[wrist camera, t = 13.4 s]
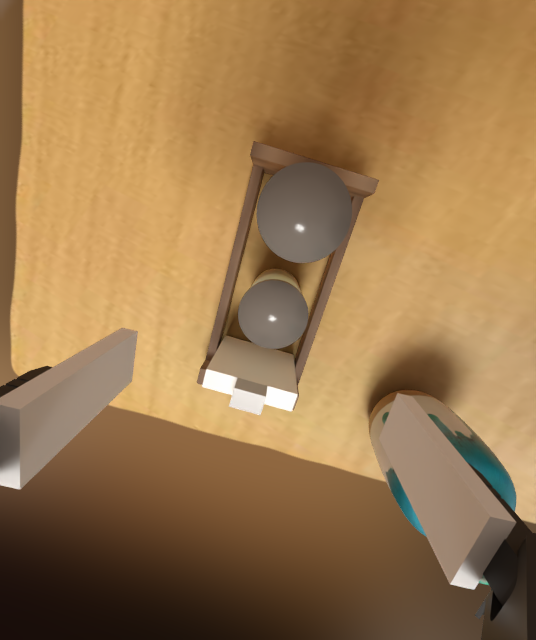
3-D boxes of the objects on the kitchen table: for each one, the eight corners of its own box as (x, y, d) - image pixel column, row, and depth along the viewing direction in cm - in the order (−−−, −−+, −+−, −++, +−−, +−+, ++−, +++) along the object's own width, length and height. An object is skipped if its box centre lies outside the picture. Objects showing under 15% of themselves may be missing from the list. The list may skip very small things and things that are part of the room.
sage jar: (307, 275, 35) (318, 292, 25) (291, 322, 37) (295, 356, 26) (258, 261, 35) (248, 271, 25) (245, 309, 37) (230, 338, 26)
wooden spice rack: (361, 190, 32) (379, 180, 27) (292, 389, 40) (294, 414, 34) (258, 158, 32) (253, 140, 26) (207, 365, 39) (194, 387, 33)
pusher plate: (293, 354, 38) (299, 405, 26) (288, 368, 38) (292, 423, 27) (225, 335, 38) (200, 378, 26) (221, 349, 38) (196, 397, 27)
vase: (382, 456, 42) (462, 627, 24) (345, 401, 40) (400, 543, 21) (451, 421, 40) (598, 579, 22) (416, 362, 38) (544, 481, 19)
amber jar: (335, 199, 33) (366, 178, 21) (315, 261, 35) (333, 274, 23) (274, 180, 33) (271, 149, 21) (257, 244, 35) (246, 248, 23)
